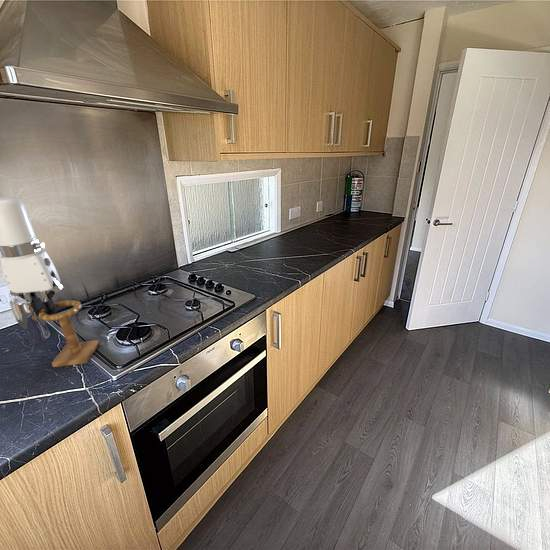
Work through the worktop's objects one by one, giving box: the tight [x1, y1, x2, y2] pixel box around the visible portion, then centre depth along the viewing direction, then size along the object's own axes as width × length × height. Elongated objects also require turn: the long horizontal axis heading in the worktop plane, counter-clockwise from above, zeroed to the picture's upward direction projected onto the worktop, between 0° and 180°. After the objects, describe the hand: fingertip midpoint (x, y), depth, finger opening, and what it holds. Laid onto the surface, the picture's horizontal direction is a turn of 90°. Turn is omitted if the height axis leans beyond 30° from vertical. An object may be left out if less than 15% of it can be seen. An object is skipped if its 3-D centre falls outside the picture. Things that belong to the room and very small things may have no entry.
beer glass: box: [9, 295, 52, 345], centre depth 90 cm, size 7×7×15 cm
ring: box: [39, 299, 83, 322], centre depth 80 cm, size 10×10×2 cm
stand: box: [51, 316, 100, 368], centre depth 83 cm, size 9×9×14 cm
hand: (45, 312), depth 80 cm, fingers closed on ring, 2 cm apart
